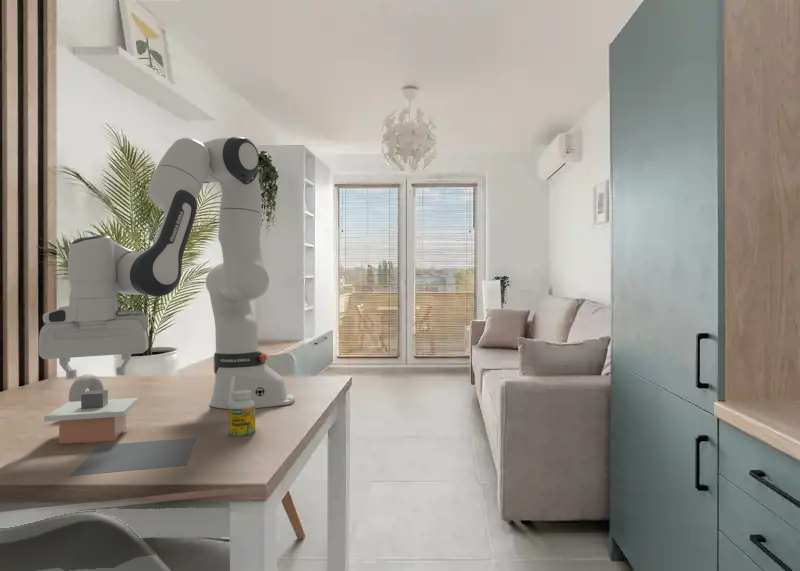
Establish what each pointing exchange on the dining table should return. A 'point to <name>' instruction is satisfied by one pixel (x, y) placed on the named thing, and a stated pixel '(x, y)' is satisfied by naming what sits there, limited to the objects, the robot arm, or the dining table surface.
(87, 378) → the donut
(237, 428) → the supplement bottle
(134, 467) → the mat
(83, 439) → the orange open box
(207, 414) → the dining table surface
